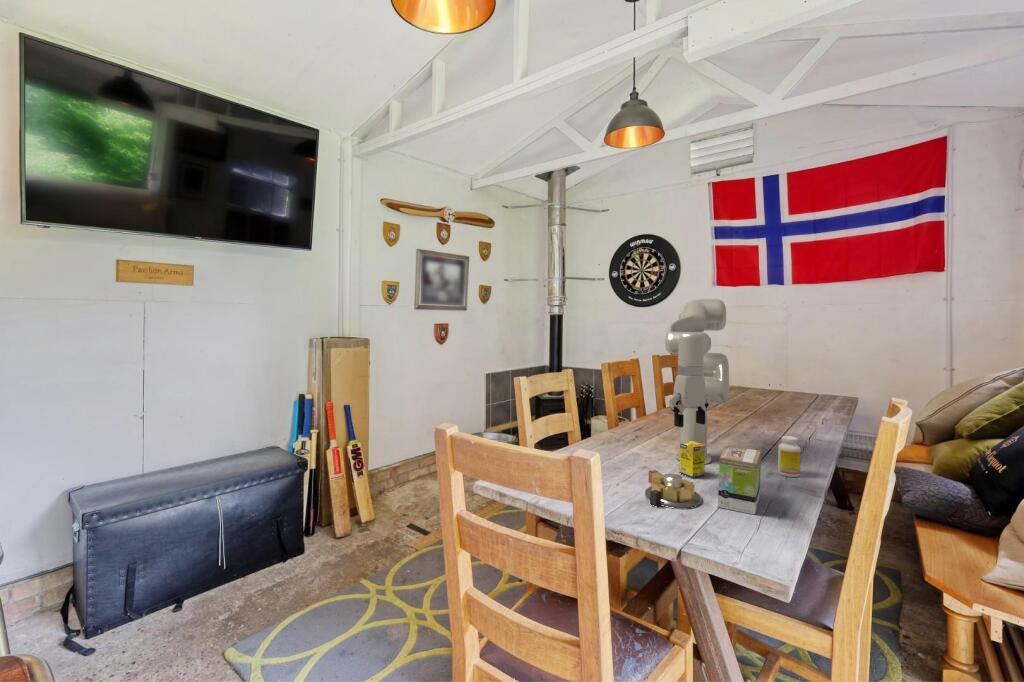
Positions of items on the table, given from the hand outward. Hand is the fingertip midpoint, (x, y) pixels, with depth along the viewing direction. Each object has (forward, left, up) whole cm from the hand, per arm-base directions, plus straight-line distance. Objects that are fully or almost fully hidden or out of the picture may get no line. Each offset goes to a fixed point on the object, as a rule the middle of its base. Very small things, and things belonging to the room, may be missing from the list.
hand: (689, 425), depth 146 cm
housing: (+6, -11, -20) cm, 24 cm away
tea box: (+15, +6, -20) cm, 26 cm away
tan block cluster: (+4, -11, -19) cm, 22 cm away
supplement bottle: (+1, +40, -20) cm, 45 cm away
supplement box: (-9, +8, -20) cm, 24 cm away
